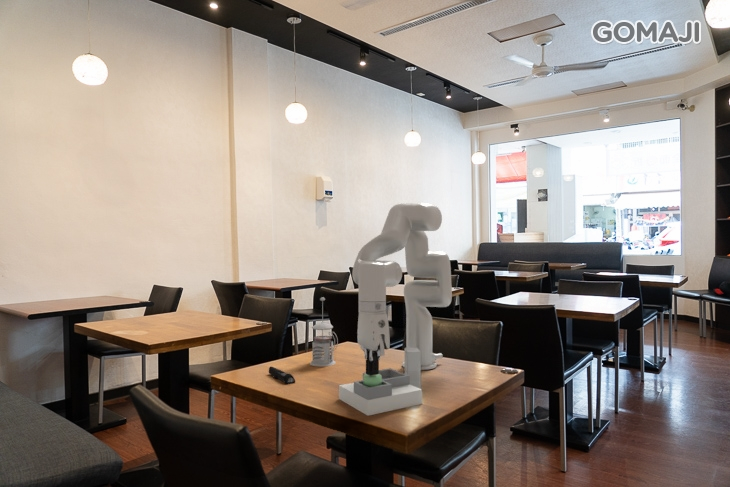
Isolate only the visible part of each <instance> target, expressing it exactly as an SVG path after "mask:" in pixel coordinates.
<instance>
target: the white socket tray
mask: <svg viewBox="0 0 730 487" xmlns="http://www.w3.org/2000/svg"><path fill="white" fill-rule="evenodd" d="M365 374H366V371H365V372H362V376H363V375H365ZM379 374H380V375H382V385H380V386H374V387H367V386H365V385H363V379H361V380H355V381H353V382H351V383H345V384H339V385H338V400H340V401H342V402H344V403H345V404H348V405H349V406H350V407H352V408H354V409H355V410H357V411H359V412H360V413H363V415H365V416H372V415H373V416H374V415H377V414H381V413H386V412H390V411H396V410H400V409H406V408H410V407H414V406H415V407H416V406H418V405H423V389H422V388H421V389H420V388H417V387H415V386H412V385H410V376H409V375H406V374H405V372H404V373H403V372H401V371H398V370H396V369H393V368H390V367H389V368H384V369H379Z"/></svg>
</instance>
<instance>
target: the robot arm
mask: <svg viewBox="0 0 730 487" xmlns="http://www.w3.org/2000/svg"><path fill="white" fill-rule="evenodd" d="M442 221H443V217H442V212H441V210H440V208H439V206H436V205H434V204H430V203H425V202H415V203H414V202H413V203H398V204H395V205H393V206H392V207H391V208H390V209H389V210H388V213H387V217H386V219H385V222H384V225H383V227H382V229H381V233H380V234H379V235H377V236H375V237H374V238H372V239H371V240H370V241H368V242H367V243H366V244H364V245H363V246H362V247H361V248H360V250H359V251H358V254H357V256H356V258H355V261H354V264H353V267H352V279H353V282H354V283H355V284H356V285H358V316H357V318H358V319H357V320H358V321H357V332H356V334H357V344H358V345H359V347H360V350H362V351H363V353H364V359H365V372H366V374H367V375H369V376H371V375H377V374H379V370H380V369H379V368H380V364H379V362H380V359H381V357H383V356H385V355H386V354H385V351H386V350H389V349H390V345H391V342H390V324H389V318H388V314H387V288H393V287H396V286H398V284H399V283H400V282H401V280H402V277H403V270H402V266H400V264H399V263H398V262H396V261H393V260H378V259H380V258H384V257H386V256H389V255H392V254H395V253H397V252H400V251H402V250H403V249H404V255H405V265H406V267H405V268H406V272H407V275H408V276H410V277H413V278H424V279H414V280H410V281H407V282H406V283H405V285H404V287H403V298H404V303H405V304H404V305H405V314H406V316H405V317H406V318H405V319H406V320H405V321H406V323H405V324H406V325H405V326H406V332H405V334H406V342H405V344H406V348H415V347H416V348H418V349H419V351H420V359H421V371H427V370H433V369H436V368H437V367H438V364H437V362H436V360H441V359H442V358H443V356H444V355H443V354H442V352H439V353H436V352H435V353H434V352H433V316H432V315H431V313H430V311H429V310H428V308H429V307H430V308H435V307H436V308H447V307H449V306H450V305H451V303H452V297H453V293H452V292H453V289H452V288H453V287H452V271H451V270H452V267H451V260H450V256H449V255H448V254H447V253H446V252H444V251H438V250H437V251H431V250H430V249H429V248H430V247H429V237H428V235H427V234H426V232H434V231H435V232H436V231H437V230H439V229H440V228H441V225H442ZM425 278H426V279H425ZM427 278H428V279H427ZM429 278H430V279H431V278H432V279H436V280H429ZM427 307H428V308H427ZM401 365H402V367H403V368H405V360H403V361H402V362H401Z"/></svg>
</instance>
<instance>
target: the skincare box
mask: <svg viewBox="0 0 730 487" xmlns="http://www.w3.org/2000/svg"><path fill="white" fill-rule="evenodd" d="M404 361H405V367H404V374H406V375H409V376H410V385H412V386H415V387H417V388H420V389H422V378H421V376H422V375H421V371H422V370H421V359H420V351H419V349H418V348H416V347H415V348H407V347H404Z"/></svg>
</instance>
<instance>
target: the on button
mask: <svg viewBox="0 0 730 487" xmlns="http://www.w3.org/2000/svg"><path fill="white" fill-rule="evenodd" d="M362 380H363V385H365V386H367V387H374V386H380V385H382V375H380V374H377V375H371V376H369V375H367V374H365V375H363V374H362Z"/></svg>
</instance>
